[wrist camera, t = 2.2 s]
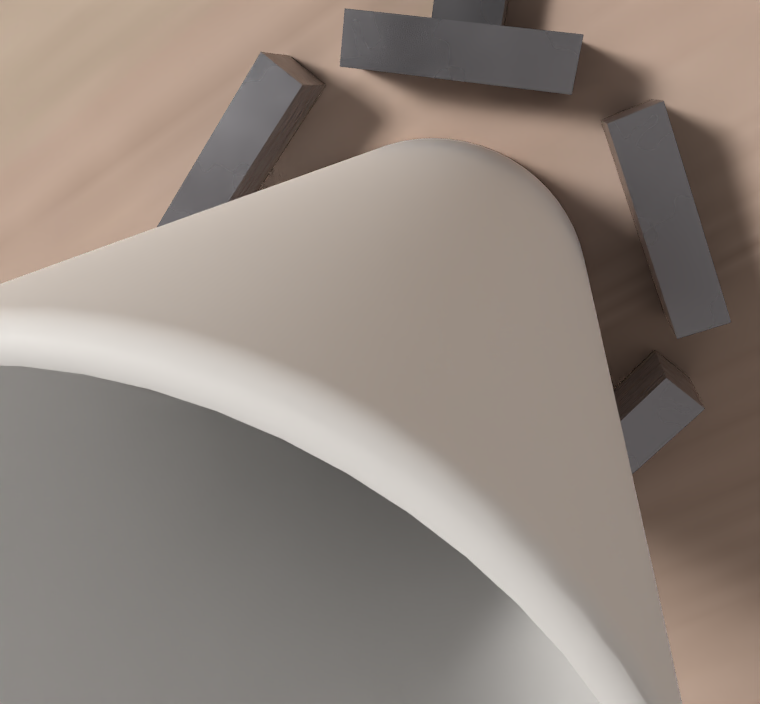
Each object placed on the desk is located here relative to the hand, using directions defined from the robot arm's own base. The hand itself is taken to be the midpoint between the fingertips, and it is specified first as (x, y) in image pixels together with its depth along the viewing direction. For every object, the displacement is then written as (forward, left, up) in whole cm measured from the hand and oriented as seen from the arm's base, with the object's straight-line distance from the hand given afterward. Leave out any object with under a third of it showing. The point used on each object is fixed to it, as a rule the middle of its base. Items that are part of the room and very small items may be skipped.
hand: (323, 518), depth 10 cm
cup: (0, 0, -11) cm, 11 cm away
